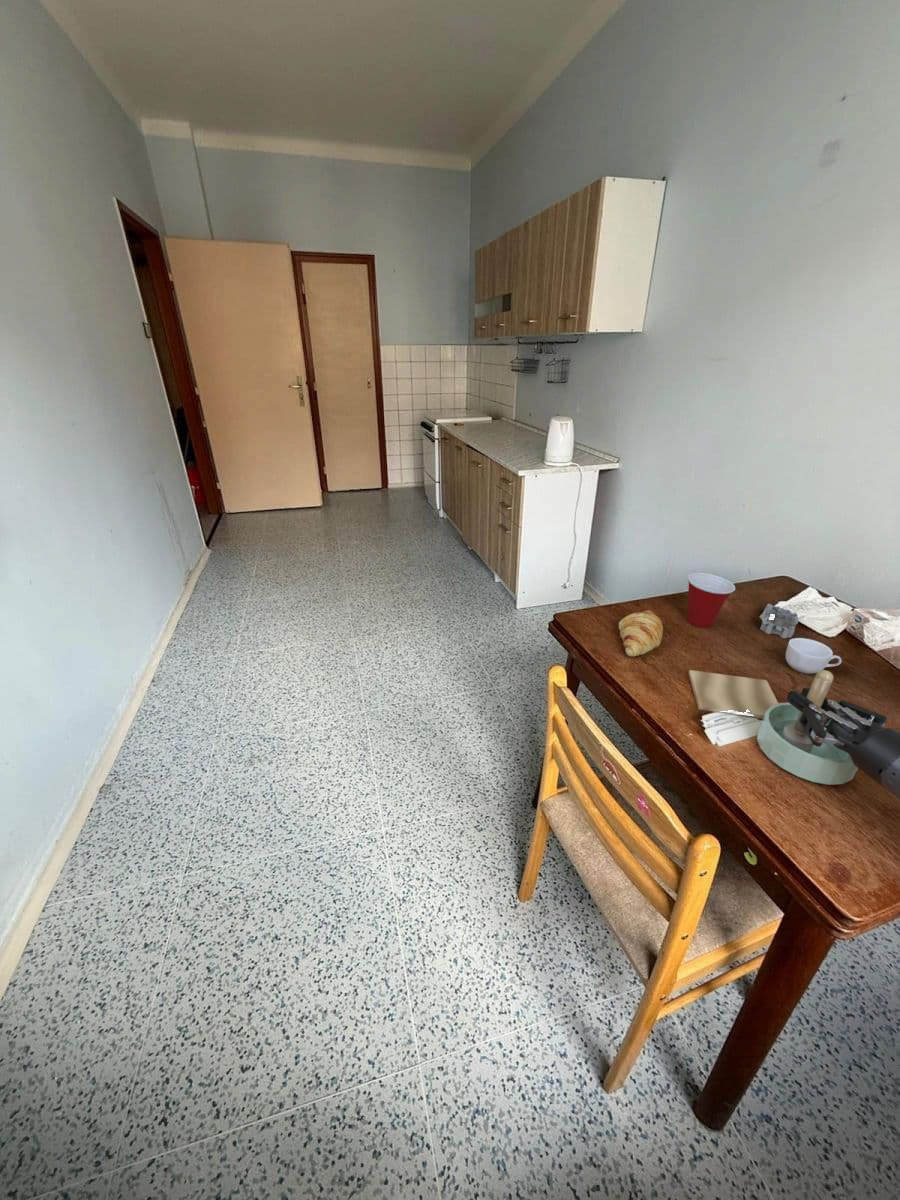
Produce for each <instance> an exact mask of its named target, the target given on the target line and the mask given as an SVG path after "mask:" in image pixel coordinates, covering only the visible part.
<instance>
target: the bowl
mask: <svg viewBox="0 0 900 1200" xmlns="http://www.w3.org/2000/svg"><path fill="white" fill-rule="evenodd" d="M799 714H800V711H799V710H798V709H797V708H795V707H794V706H793V705H791V704H790V703H789V702H778V704H776V705H773V706H771V707H770V708H769V709H768V710H767V711H766V712H765V715H764V717H763V719H761V720H762V721H761V723H760V725H759V728H758V730H757V735H756V741H757V743H758V746H759V748H760V750H761V751H762V752H763V753H764V754H765V755H766V757H767V759H769V760H770V761H771V762H773V763H774V764H776V765H777V766H778V767H780V768H781V769H783V770H784V771H786V772H788V773H791V774H792V775H794V776H796V777H797V778H801V779H803V780H807V781H809V782H812V783H817V784H822V785H829V786H831V785H843V784H846V783H849V782H850V781H852V780H853V779H854V777H856V774H857V772H858V770H860V769H859V768H857V767H856V766H855V765H854V764H853V761H852V759H851V756H850V755H849V754H848V753H847V752H845V751H843V750H841V749H838V748H837V747H835V746H834V745H833V744H829V743H822V745H821V746H820V747H818V746H815V745H814V746H813V748H812V750H811V752H810V753H807V752H805V751H803V750H801V749H799V748H797V747H795V746H793V745H791V744H790V743H789V742H787V741H786V740H784V739H783V738H782V737H781V734H782V732H783V729H784V727H785V726H787V725H795V723H796V721H797V718H798V716H799ZM817 718H818V719H820V718H821V716H820V715H817ZM830 720H831V719H830ZM829 722H830V721H829ZM828 724H829V723H828Z"/></svg>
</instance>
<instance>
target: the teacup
mask: <svg viewBox="0 0 900 1200" xmlns="http://www.w3.org/2000/svg"><path fill="white" fill-rule="evenodd" d="M834 659H838V661H837V662H836V663H829V662H830V661H832V660H834ZM785 660H786V663H787V664H788V666H789V667H791V668H792V670H794V671H796V672H799V673H801V674H807V675H810V674H811V675H812V674H817V672H819V671H821V670H825V668H832V667H837V666H840V665H841V664H842V658H841V657H840V656H839V655H836V654H834V652H833V650H832V648H830V647H829V646H828V645H826V644H824V643H822V642H821V641H817V640H814V639H811V638H803V637H795V638H792V639H789V641H788V644H787V647H786V651H785Z"/></svg>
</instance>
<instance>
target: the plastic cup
mask: <svg viewBox="0 0 900 1200" xmlns="http://www.w3.org/2000/svg"><path fill="white" fill-rule="evenodd" d="M687 582H688V595H687V615H686V616H687V617H686V619H687V622H688V624H690V625H692V626H694V627H696V628H702V629H707V628H710V627H712V625H713V624H714V623H715V620H716V618H717V616H718V615H719V614H720V611H721V610H722V608H723V606H724V604H725V603H726V601H727V599H728V598H729V596H730V595H731V594H732V593H734V592H735V591H736V586H735V584H734V583H732V581H731V580H729V579H726V578H724V577H722V576H720V575H716V574H712V573H707V572H692V573H690V574H688V576H687Z"/></svg>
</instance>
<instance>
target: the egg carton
mask: <svg viewBox="0 0 900 1200" xmlns="http://www.w3.org/2000/svg"><path fill="white" fill-rule="evenodd" d="M770 614H775V618H774V620H769V617H770ZM760 617H761V620H762V622H761V625H760V627H759V630H761V631H762V632H764V633H765V634H768V635H771V634H773V635H779V637H780V638H781V639H787V638H792V637H793V635H794V634H795V631H796V627H797V625H798V623H799V621H800V620H799V619H800V618H799V617H798V613H797V612H795V611H794V612H791V610H790V609H785V608H783V607H780V606H778V605H777V606H775V605H773V604H771V603H767V605H766V606H765V608H764V610H763V612H762V614H761V616H760Z"/></svg>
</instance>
